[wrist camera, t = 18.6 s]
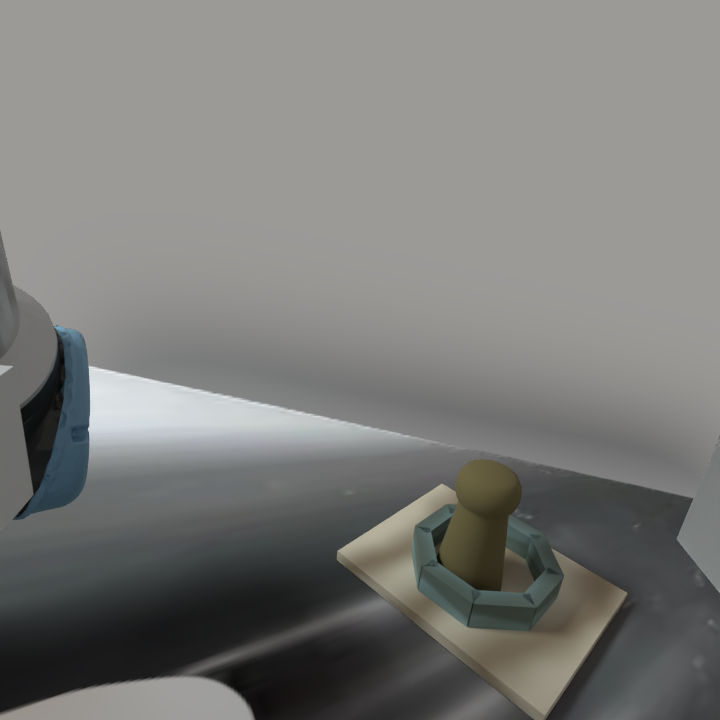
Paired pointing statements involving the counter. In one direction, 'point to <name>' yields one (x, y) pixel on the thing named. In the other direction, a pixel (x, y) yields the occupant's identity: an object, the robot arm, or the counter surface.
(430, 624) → the ring stand
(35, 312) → the robot arm
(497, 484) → the cork
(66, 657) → the counter surface
